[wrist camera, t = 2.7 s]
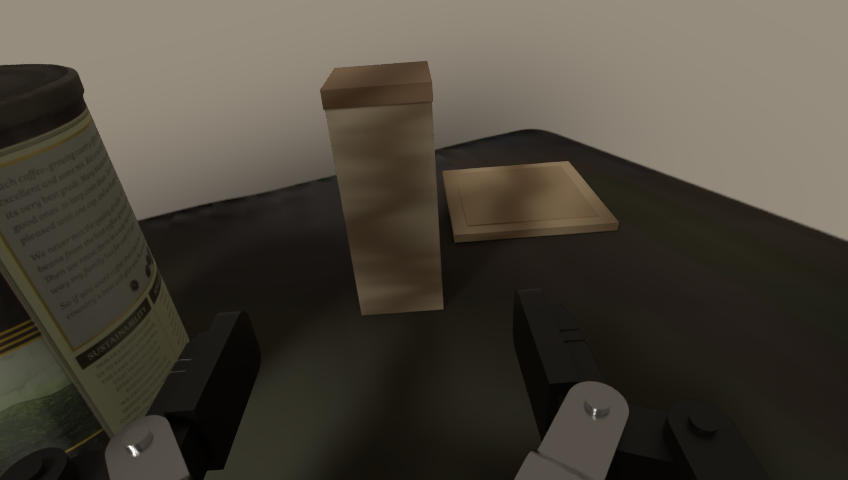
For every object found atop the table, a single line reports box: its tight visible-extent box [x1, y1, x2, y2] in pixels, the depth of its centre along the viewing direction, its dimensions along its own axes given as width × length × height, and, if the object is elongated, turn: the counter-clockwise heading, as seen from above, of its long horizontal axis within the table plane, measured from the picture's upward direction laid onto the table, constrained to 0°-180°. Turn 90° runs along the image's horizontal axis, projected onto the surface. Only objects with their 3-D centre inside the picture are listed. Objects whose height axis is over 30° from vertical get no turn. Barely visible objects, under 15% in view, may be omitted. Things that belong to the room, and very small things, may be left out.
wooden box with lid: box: [320, 61, 444, 315], centre depth 24 cm, size 5×5×12 cm
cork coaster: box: [443, 161, 619, 243], centre depth 35 cm, size 11×11×1 cm
